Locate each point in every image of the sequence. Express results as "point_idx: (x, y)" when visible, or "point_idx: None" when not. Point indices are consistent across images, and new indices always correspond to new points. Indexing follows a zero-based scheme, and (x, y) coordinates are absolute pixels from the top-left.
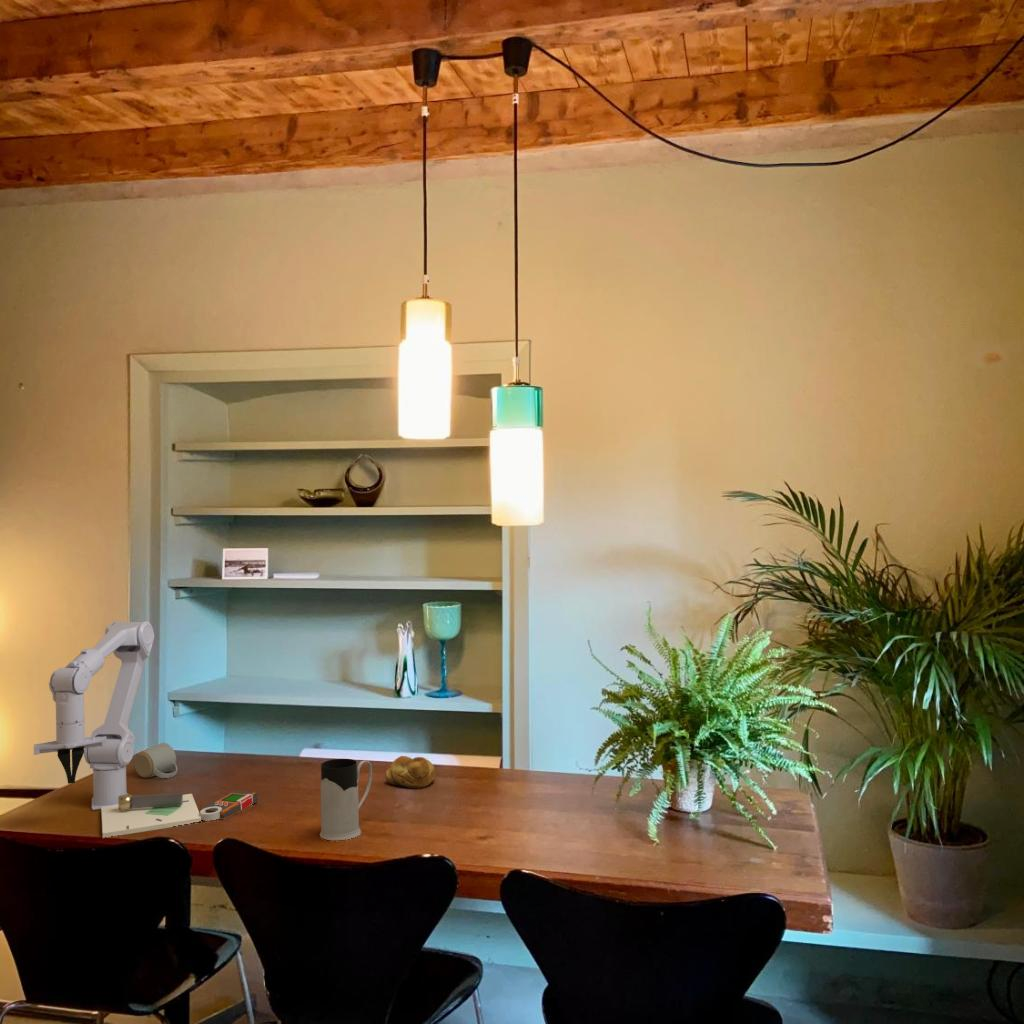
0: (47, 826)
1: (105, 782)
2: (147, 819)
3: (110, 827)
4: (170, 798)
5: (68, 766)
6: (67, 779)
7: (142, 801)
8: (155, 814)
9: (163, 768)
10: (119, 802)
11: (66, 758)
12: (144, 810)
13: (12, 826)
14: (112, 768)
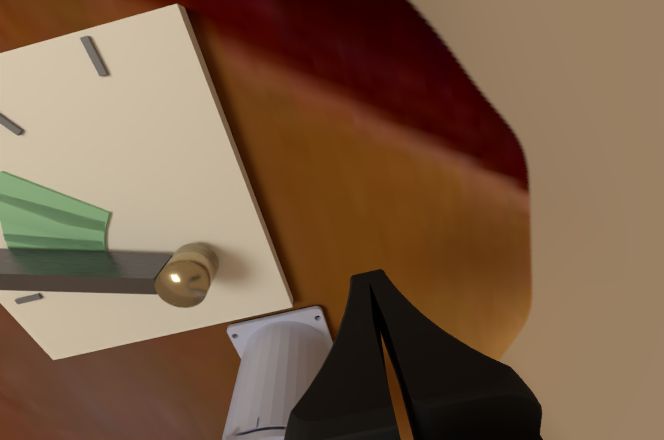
0: (421, 204)
1: (280, 382)
2: (63, 144)
3: (175, 81)
4: (10, 265)
5: (400, 329)
6: (390, 281)
7: (121, 265)
8: (62, 194)
9: None
10: (201, 264)
11: (435, 374)
12: (130, 245)
13: (520, 229)
14: (247, 436)
